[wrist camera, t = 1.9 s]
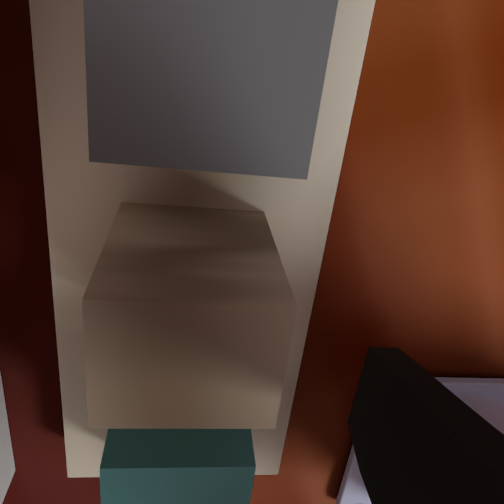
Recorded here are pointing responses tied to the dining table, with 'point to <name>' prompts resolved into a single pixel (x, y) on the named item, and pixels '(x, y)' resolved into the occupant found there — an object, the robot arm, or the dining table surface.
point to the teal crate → (177, 466)
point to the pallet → (107, 181)
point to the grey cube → (206, 83)
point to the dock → (5, 449)
